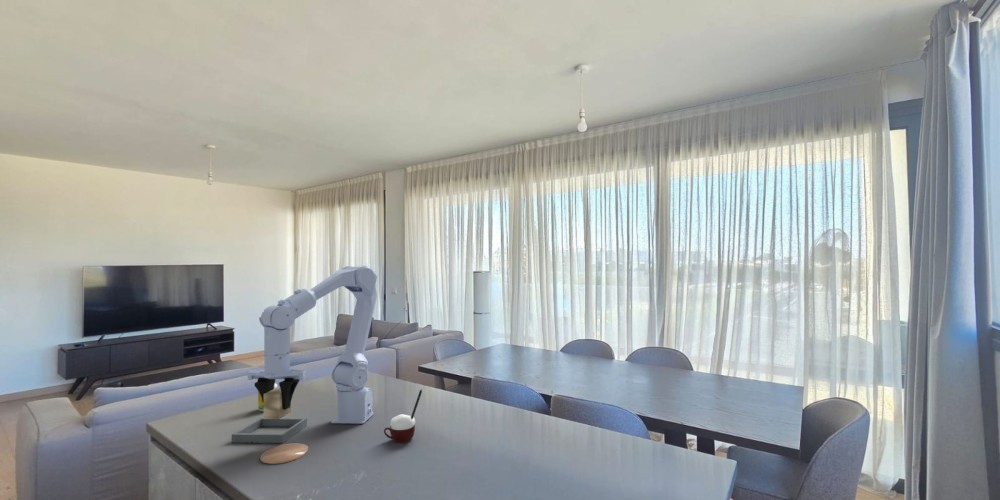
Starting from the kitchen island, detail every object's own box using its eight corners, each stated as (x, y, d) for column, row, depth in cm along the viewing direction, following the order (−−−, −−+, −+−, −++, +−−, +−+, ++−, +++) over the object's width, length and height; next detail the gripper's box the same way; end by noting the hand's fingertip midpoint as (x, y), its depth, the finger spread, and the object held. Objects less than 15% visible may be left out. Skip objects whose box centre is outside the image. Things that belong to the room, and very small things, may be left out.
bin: (307, 425, 120) (306, 418, 120) (282, 443, 109) (282, 434, 109) (260, 425, 121) (260, 417, 121) (231, 442, 110) (231, 434, 110)
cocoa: (382, 445, 107) (378, 397, 107) (393, 434, 113) (389, 388, 113) (418, 446, 105) (414, 397, 105) (427, 434, 111) (424, 388, 111)
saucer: (315, 445, 107) (315, 443, 107) (293, 464, 97) (293, 462, 97) (277, 445, 108) (277, 442, 108) (250, 463, 98) (250, 461, 98)
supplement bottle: (276, 404, 139) (276, 374, 139) (278, 409, 134) (278, 378, 135) (257, 408, 136) (257, 377, 136) (259, 413, 131) (258, 381, 132)
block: (290, 412, 111) (290, 388, 111) (279, 419, 106) (279, 394, 106) (276, 411, 111) (275, 388, 111) (263, 418, 106) (263, 394, 106)
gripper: (239, 357, 105) (239, 413, 105) (295, 357, 104) (296, 414, 104) (257, 351, 112) (258, 403, 112) (311, 351, 111) (311, 404, 111)
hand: (277, 408), depth 108 cm, fingers closed on block, 4 cm apart
